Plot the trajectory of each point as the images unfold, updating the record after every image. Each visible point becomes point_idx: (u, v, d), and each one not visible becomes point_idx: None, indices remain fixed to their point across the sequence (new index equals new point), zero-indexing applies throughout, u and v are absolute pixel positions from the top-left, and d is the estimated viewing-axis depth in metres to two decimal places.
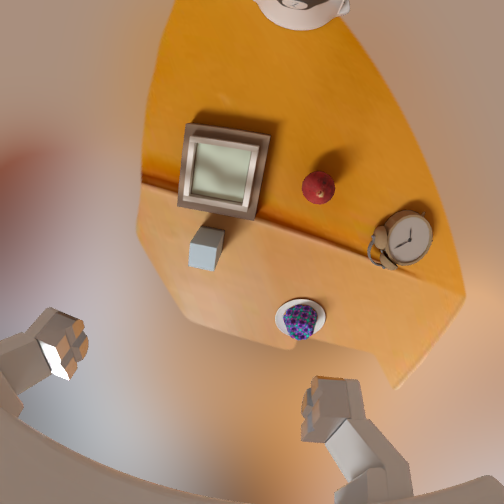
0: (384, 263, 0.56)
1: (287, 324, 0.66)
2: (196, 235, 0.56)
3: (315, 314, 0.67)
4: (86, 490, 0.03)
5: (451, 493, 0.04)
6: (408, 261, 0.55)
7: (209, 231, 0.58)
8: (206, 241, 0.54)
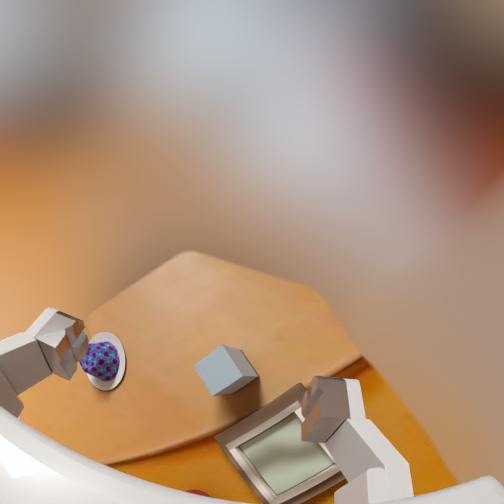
0: None
1: (103, 352, 0.47)
2: (248, 377, 0.37)
3: (97, 377, 0.48)
4: (86, 490, 0.03)
5: (451, 493, 0.04)
6: None
7: (243, 384, 0.40)
8: (231, 386, 0.36)
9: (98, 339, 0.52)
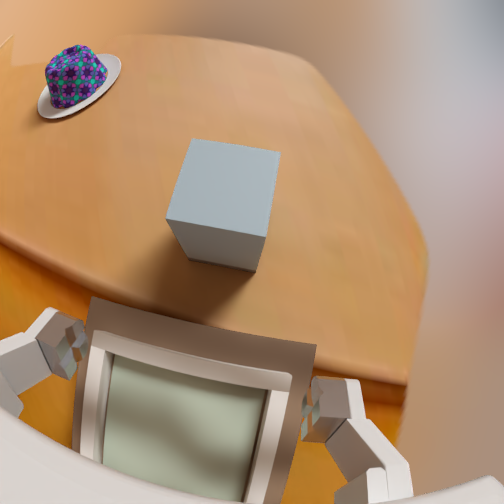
0: None
1: (87, 67, 0.24)
2: (255, 254, 0.17)
3: None
4: (86, 490, 0.03)
5: (451, 493, 0.04)
6: None
7: (224, 260, 0.20)
8: (215, 239, 0.16)
9: (101, 60, 0.28)
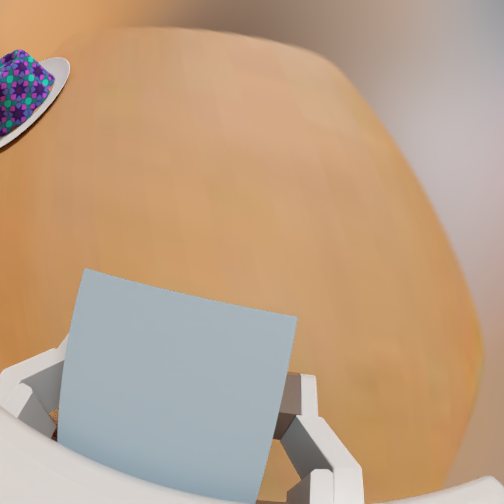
0: None
1: (20, 82, 0.15)
2: None
3: None
4: (86, 490, 0.03)
5: (451, 493, 0.04)
6: None
7: None
8: None
9: (52, 67, 0.19)
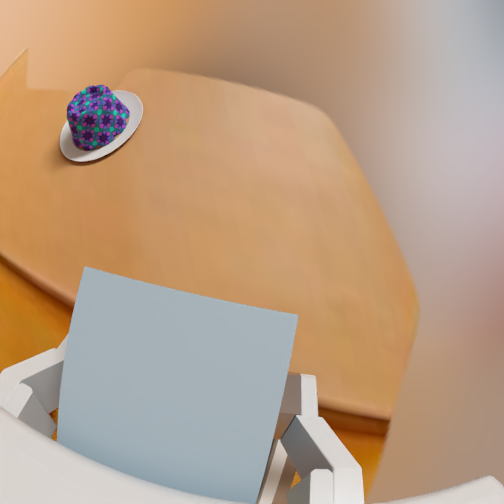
0: None
1: (106, 115, 0.28)
2: None
3: None
4: (86, 490, 0.03)
5: (451, 493, 0.04)
6: None
7: None
8: None
9: (126, 100, 0.32)
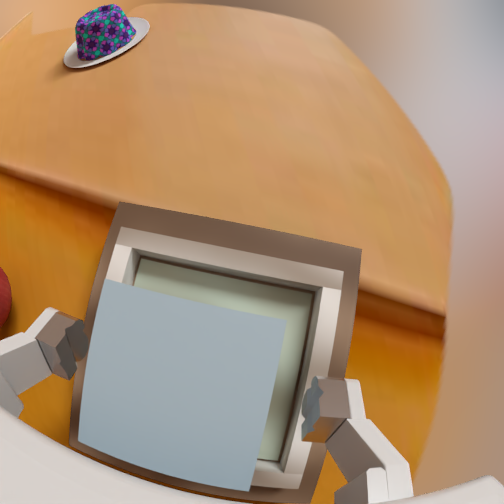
0: None
1: (113, 26, 0.23)
2: None
3: None
4: (86, 490, 0.03)
5: (451, 493, 0.04)
6: None
7: None
8: None
9: (135, 23, 0.27)
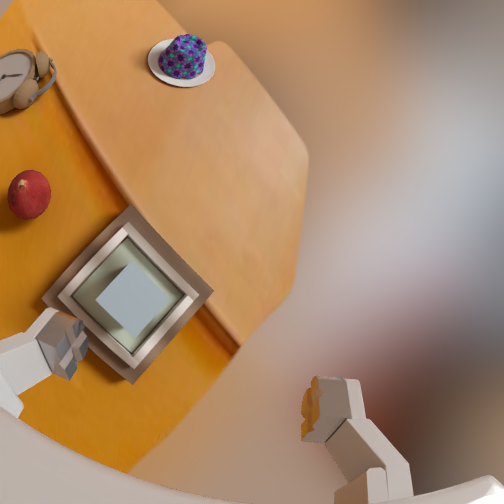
0: (44, 63, 0.27)
1: (190, 64, 0.38)
2: None
3: None
4: (86, 490, 0.03)
5: (451, 493, 0.04)
6: (23, 54, 0.25)
7: None
8: None
9: (207, 63, 0.43)
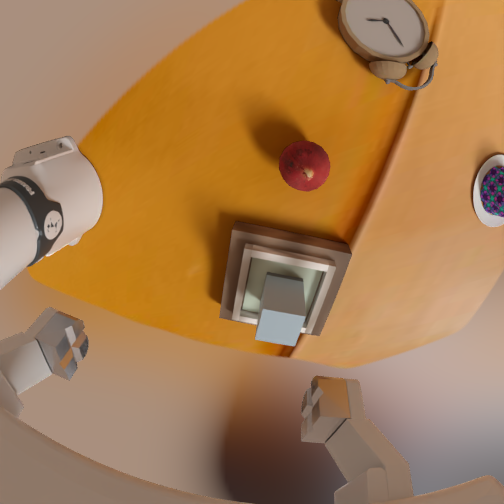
0: (428, 64, 0.24)
1: (497, 209, 0.31)
2: None
3: None
4: (86, 490, 0.03)
5: (451, 493, 0.04)
6: (421, 23, 0.22)
7: (262, 296, 0.39)
8: (260, 314, 0.35)
9: None
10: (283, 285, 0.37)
